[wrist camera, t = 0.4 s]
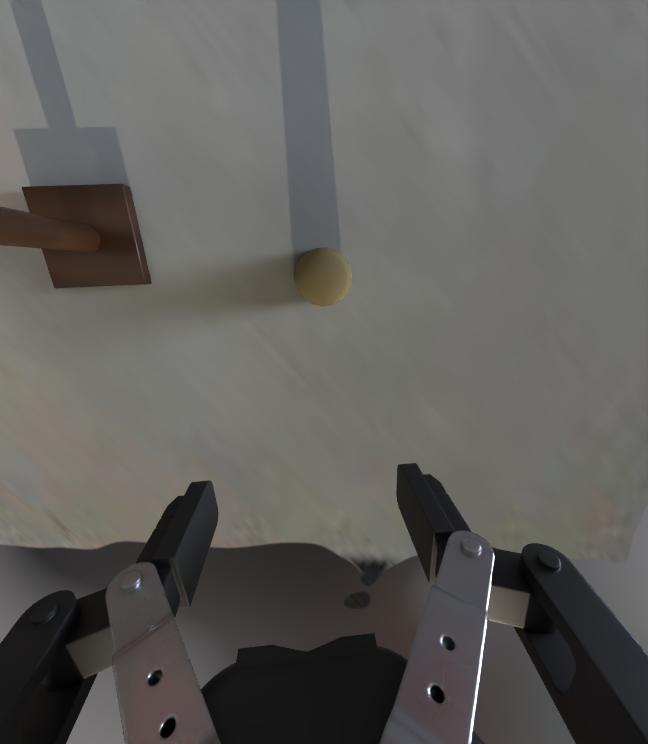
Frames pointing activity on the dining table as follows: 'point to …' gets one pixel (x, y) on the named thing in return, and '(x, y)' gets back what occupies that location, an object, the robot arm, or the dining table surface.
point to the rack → (80, 234)
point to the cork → (323, 276)
